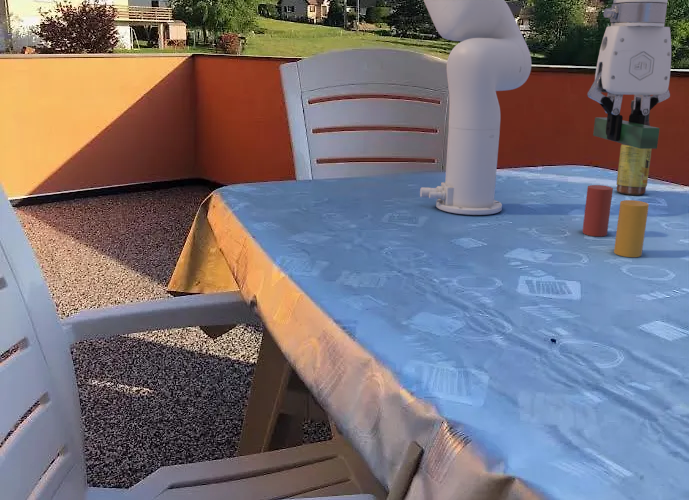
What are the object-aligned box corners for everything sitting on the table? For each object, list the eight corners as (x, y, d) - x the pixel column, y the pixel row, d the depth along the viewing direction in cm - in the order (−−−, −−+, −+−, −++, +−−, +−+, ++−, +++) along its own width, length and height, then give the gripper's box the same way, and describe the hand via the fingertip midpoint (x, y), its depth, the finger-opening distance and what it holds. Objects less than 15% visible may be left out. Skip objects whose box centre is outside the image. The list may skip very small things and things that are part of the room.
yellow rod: (621, 257, 107) (628, 205, 105) (609, 250, 111) (615, 200, 109) (646, 257, 107) (653, 205, 105) (633, 250, 111) (640, 200, 109)
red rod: (588, 236, 118) (593, 189, 116) (578, 230, 122) (583, 184, 120) (611, 236, 119) (617, 189, 117) (600, 230, 123) (606, 185, 120)
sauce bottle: (648, 196, 151) (661, 102, 146) (617, 195, 153) (629, 101, 147) (642, 190, 158) (654, 99, 152) (612, 189, 159) (624, 99, 153)
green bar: (657, 148, 104) (659, 128, 103) (640, 148, 104) (642, 128, 103) (607, 135, 119) (609, 117, 118) (593, 135, 119) (595, 117, 118)
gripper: (597, 15, 102) (583, 143, 107) (703, 17, 103) (685, 143, 108) (575, 17, 109) (564, 137, 114) (676, 19, 110) (659, 137, 116)
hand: (623, 139), depth 111 cm, fingers closed on green bar, 2 cm apart
